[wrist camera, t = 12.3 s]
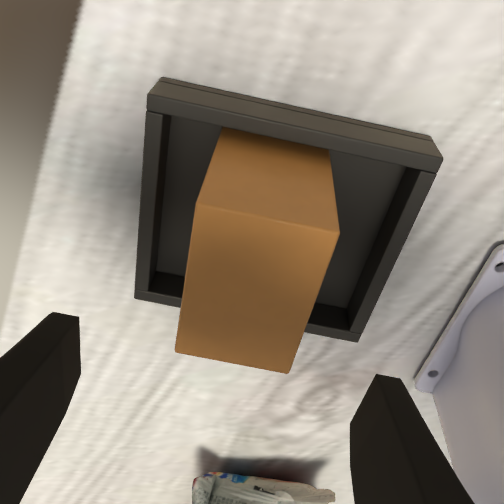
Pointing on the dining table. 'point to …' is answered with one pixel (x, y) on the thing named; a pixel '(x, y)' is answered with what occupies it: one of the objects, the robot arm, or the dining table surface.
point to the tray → (294, 130)
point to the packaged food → (254, 491)
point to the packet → (257, 251)
